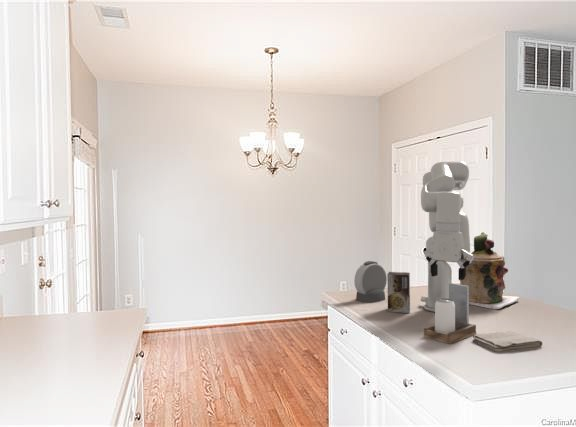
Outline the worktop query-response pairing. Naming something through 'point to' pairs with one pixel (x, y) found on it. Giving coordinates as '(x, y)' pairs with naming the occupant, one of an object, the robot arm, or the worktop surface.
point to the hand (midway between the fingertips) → (447, 277)
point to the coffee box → (398, 292)
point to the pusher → (460, 304)
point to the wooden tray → (450, 334)
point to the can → (444, 316)
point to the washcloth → (506, 341)
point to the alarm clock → (370, 282)
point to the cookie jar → (486, 276)
